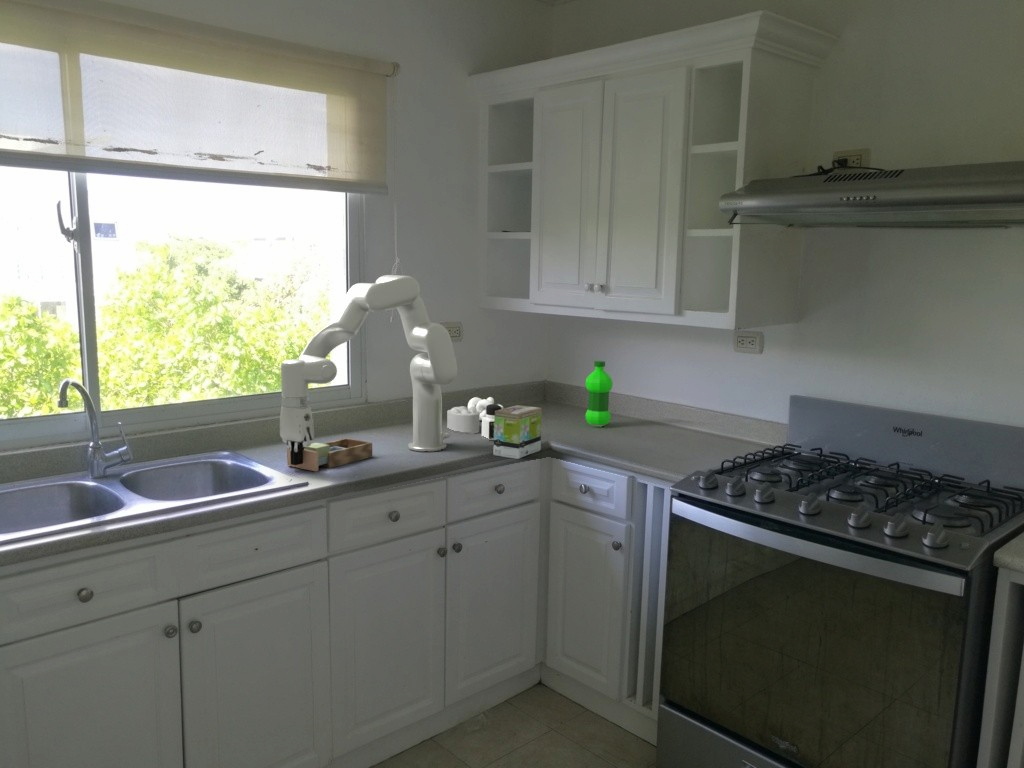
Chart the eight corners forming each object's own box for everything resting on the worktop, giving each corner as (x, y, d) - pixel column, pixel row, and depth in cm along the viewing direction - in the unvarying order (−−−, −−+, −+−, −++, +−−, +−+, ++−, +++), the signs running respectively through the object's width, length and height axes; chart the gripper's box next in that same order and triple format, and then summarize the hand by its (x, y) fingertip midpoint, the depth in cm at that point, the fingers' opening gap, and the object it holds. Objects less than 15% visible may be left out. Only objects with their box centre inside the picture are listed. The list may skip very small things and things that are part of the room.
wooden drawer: (332, 454, 251) (331, 436, 250) (359, 459, 245) (359, 441, 244) (287, 465, 236) (286, 446, 236) (315, 471, 230) (314, 452, 229)
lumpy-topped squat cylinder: (467, 426, 300) (467, 403, 299) (486, 432, 290) (486, 409, 288) (443, 429, 294) (443, 406, 293) (461, 435, 284) (462, 411, 282)
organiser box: (346, 451, 256) (346, 438, 255) (372, 456, 250) (372, 442, 249) (304, 462, 241) (303, 448, 241) (329, 468, 235) (329, 453, 235)
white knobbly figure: (472, 424, 305) (472, 401, 303) (463, 418, 316) (463, 396, 314) (500, 422, 309) (500, 399, 307) (489, 416, 320) (490, 395, 318)
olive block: (317, 455, 242) (316, 442, 241) (330, 458, 239) (329, 445, 238) (303, 458, 237) (303, 445, 237) (316, 461, 234) (315, 448, 234)
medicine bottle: (488, 441, 275) (489, 407, 273) (481, 436, 282) (481, 403, 280) (507, 439, 278) (508, 405, 276) (499, 435, 284) (500, 402, 283)
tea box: (519, 459, 249) (520, 413, 247) (492, 455, 254) (492, 410, 252) (541, 450, 262) (542, 406, 260) (515, 447, 267) (515, 403, 265)
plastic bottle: (599, 422, 311) (601, 359, 307) (616, 427, 302) (618, 362, 299) (579, 424, 306) (580, 360, 302) (595, 429, 297) (597, 363, 293)
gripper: (323, 403, 228) (324, 465, 231) (287, 397, 236) (289, 458, 239) (303, 406, 222) (304, 470, 224) (267, 401, 230) (269, 462, 233)
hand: (296, 463), depth 232 cm, fingers closed
